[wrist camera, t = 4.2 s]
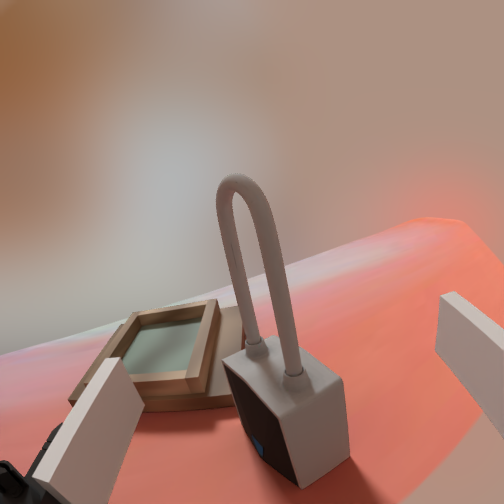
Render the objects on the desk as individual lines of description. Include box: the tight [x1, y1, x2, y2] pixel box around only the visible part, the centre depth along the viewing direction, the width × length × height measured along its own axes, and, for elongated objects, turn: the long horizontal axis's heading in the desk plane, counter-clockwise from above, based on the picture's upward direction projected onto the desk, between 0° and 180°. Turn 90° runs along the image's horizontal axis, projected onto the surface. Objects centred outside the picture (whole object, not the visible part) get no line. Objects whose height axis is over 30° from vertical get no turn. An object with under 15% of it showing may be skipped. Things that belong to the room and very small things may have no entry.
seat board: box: [68, 299, 245, 412], centre depth 26 cm, size 15×14×3 cm
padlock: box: [216, 173, 350, 489], centre depth 13 cm, size 7×4×15 cm, turn 29°
